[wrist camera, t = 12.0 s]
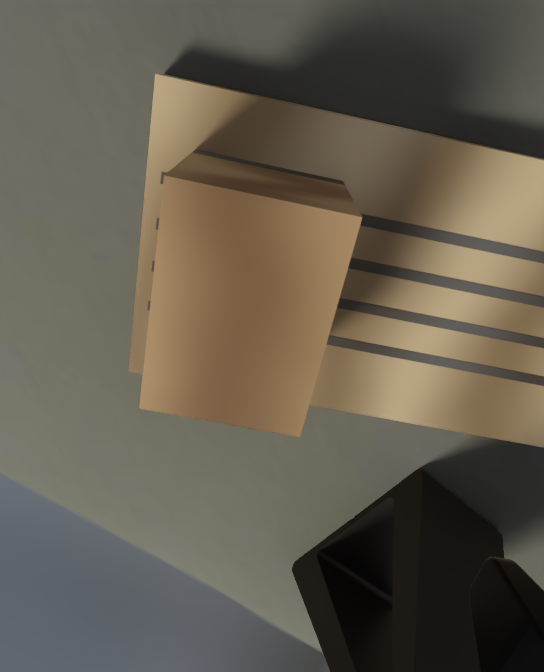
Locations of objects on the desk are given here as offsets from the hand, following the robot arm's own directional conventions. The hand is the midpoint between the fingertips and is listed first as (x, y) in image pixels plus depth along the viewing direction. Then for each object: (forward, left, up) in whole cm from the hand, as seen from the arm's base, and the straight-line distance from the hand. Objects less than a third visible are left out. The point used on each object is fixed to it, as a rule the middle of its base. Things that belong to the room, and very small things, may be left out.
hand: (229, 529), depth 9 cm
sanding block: (0, -1, -12) cm, 12 cm away
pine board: (-4, -1, -13) cm, 14 cm away
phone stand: (-9, +13, -13) cm, 21 cm away
